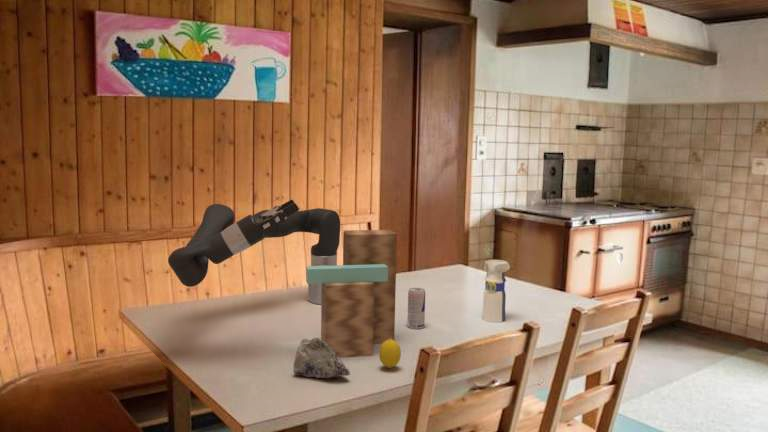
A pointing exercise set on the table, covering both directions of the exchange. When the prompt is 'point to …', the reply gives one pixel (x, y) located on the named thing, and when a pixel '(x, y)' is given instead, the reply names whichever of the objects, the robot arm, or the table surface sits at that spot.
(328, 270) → the teal bar
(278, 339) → the table surface
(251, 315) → the table surface
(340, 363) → the mineral rock
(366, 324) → the low stand
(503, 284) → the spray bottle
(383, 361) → the lemon
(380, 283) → the tall stand
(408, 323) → the energy drink
